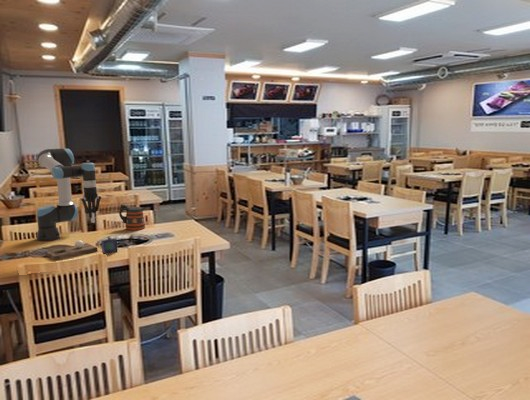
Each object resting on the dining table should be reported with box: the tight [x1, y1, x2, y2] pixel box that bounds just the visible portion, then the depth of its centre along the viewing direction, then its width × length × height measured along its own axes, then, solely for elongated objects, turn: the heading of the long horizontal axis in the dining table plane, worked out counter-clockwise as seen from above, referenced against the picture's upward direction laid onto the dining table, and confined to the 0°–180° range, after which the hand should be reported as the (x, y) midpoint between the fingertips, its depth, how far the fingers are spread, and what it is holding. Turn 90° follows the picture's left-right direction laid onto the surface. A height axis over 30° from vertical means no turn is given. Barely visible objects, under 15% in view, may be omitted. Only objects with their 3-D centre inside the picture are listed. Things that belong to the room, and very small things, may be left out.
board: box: [45, 242, 98, 261], centre depth 261 cm, size 16×26×2 cm, turn 136°
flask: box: [100, 235, 118, 254], centre depth 261 cm, size 9×3×11 cm, turn 117°
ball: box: [74, 239, 85, 248], centre depth 264 cm, size 5×5×5 cm
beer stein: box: [118, 204, 146, 231], centre depth 325 cm, size 19×15×20 cm
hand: (93, 222), depth 269 cm, fingers closed
